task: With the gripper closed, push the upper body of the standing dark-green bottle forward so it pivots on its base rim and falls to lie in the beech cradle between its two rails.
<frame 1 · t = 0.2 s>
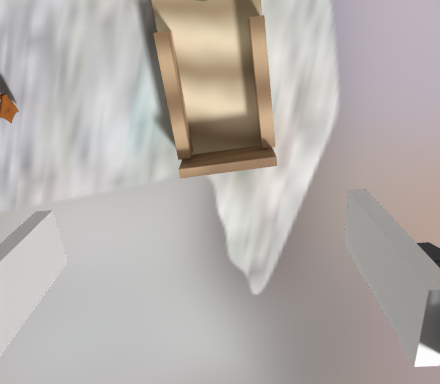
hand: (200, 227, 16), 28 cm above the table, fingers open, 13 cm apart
cradle: (215, 65, 39), on the table
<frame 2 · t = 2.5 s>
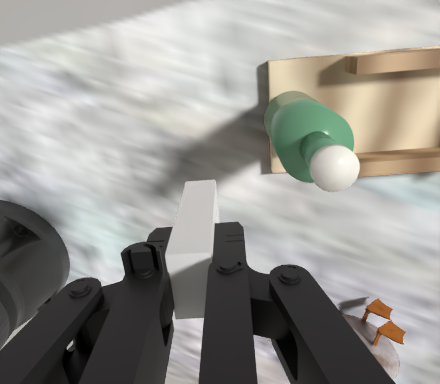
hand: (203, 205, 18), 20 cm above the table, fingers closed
cradle: (379, 109, 35), on the table
bottle: (291, 119, 34), point 1 cm above the table, touching cradle
decorative duck model: (335, 334, 47), on the table
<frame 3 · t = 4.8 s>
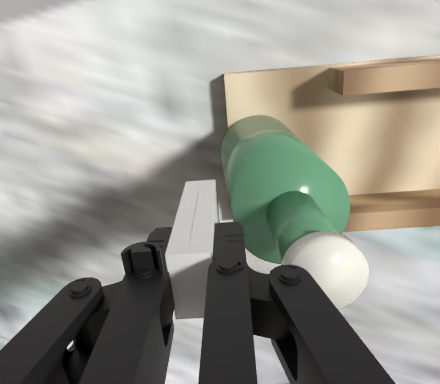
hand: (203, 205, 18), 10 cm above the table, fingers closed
cradle: (376, 137, 26), on the table
bottle: (257, 152, 25), point 1 cm above the table, touching cradle
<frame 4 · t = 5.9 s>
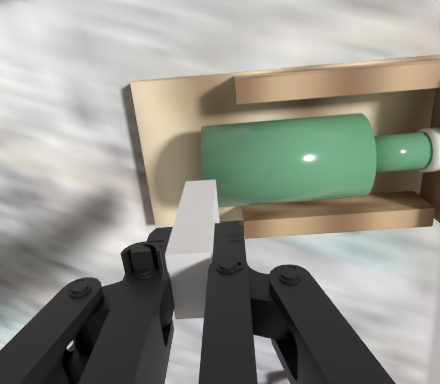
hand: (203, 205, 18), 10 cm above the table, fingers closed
cradle: (291, 144, 26), on the table
bottle: (205, 167, 23), point 4 cm above the table, tilted 90°, touching cradle
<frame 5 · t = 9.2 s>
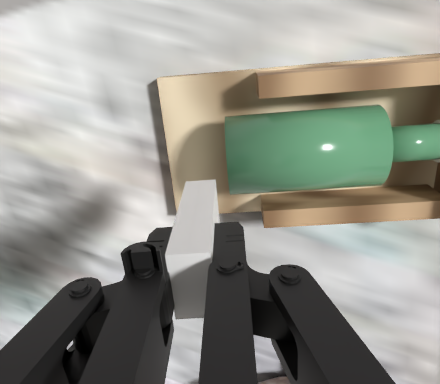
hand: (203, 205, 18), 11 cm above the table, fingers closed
cradle: (308, 138, 28), on the table
bottle: (227, 156, 24), point 4 cm above the table, tilted 90°, touching cradle
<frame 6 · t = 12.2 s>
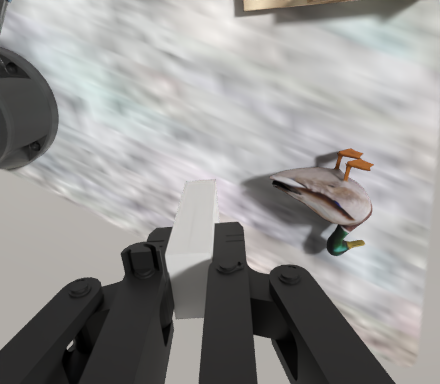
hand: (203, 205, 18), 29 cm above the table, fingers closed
decorative duck model: (314, 195, 50), on the table
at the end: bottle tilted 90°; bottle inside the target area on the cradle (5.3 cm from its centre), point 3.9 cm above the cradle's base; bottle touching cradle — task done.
